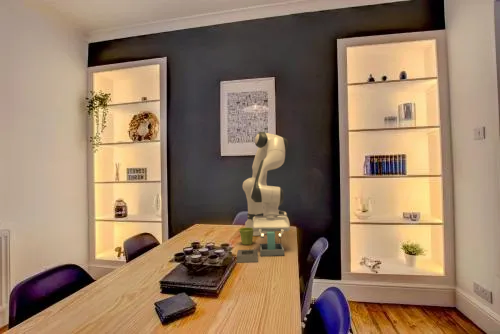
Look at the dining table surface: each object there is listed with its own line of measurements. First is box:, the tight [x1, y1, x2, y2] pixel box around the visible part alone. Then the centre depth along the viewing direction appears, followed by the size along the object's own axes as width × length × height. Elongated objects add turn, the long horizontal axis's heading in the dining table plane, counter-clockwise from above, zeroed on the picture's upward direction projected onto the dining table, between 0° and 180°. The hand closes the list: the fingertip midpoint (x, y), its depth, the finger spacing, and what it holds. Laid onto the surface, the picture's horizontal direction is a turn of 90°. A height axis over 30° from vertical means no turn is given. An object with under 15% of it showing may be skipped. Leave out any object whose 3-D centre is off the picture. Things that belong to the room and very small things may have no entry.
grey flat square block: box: [236, 248, 259, 264], centre depth 126 cm, size 10×10×3 cm
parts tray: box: [259, 242, 285, 257], centre depth 135 cm, size 12×12×3 cm
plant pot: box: [238, 227, 254, 246], centre depth 154 cm, size 9×9×9 cm
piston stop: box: [266, 231, 276, 250], centre depth 135 cm, size 4×4×10 cm
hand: (271, 237), depth 135 cm, fingers open, 8 cm apart
